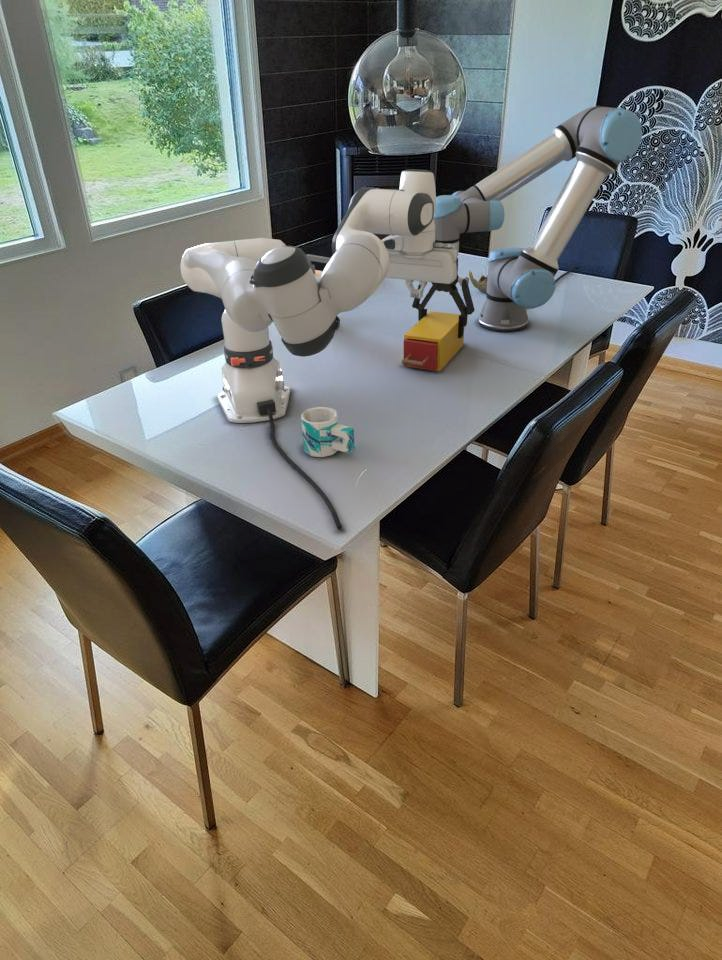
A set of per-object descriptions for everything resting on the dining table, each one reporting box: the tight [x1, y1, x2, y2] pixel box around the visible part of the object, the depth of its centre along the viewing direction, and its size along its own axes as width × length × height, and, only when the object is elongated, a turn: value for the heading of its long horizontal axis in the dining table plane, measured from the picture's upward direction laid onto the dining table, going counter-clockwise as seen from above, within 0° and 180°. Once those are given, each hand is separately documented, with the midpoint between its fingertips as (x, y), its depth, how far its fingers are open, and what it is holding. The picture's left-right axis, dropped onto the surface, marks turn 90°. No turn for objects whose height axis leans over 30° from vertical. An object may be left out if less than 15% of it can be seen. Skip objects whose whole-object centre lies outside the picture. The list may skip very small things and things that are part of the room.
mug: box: [300, 406, 356, 458], centre depth 147 cm, size 8×12×8 cm
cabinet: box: [403, 310, 465, 372], centre depth 191 cm, size 21×11×9 cm, turn 155°
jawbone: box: [468, 270, 488, 293], centre depth 238 cm, size 9×15×10 cm
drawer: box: [401, 339, 438, 371], centre depth 187 cm, size 25×9×7 cm, turn 155°
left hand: (416, 297), depth 170 cm, fingers closed
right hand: (442, 334), depth 195 cm, fingers closed on cabinet, 11 cm apart
